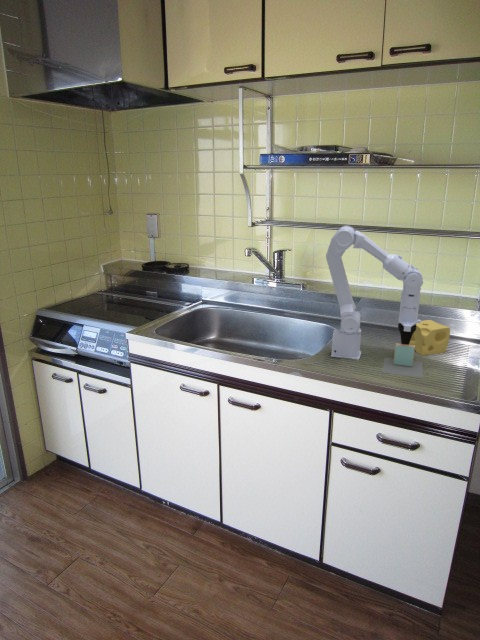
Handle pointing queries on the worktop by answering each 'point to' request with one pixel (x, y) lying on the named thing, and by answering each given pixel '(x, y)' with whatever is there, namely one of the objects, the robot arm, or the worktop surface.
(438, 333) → the cheese
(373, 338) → the worktop surface
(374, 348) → the worktop surface
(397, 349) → the tile
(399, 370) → the mat
